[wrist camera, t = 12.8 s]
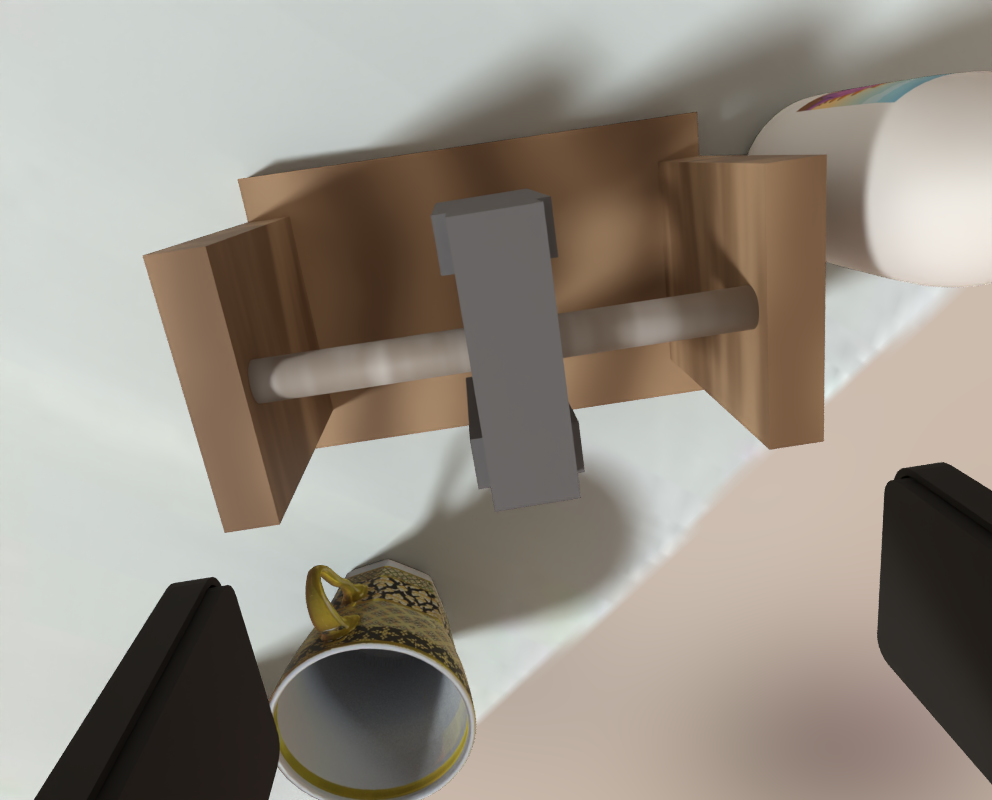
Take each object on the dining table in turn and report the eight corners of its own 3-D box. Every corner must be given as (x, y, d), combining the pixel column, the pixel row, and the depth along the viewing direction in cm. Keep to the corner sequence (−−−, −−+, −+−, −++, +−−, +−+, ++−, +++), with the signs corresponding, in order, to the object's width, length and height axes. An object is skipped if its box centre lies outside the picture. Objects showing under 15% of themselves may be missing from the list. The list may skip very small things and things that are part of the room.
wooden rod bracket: (309, 439, 40) (238, 580, 27) (246, 178, 35) (123, 190, 22) (700, 380, 40) (823, 490, 27) (687, 113, 36) (827, 87, 22)
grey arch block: (435, 203, 31) (428, 220, 22) (526, 188, 31) (559, 198, 22) (472, 417, 34) (480, 514, 25) (555, 403, 34) (594, 495, 25)
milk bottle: (820, 279, 39) (1175, 395, 20) (707, 203, 37) (975, 249, 18) (915, 149, 37) (1407, 140, 18) (800, 63, 35) (1208, -49, 16)
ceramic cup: (492, 646, 45) (503, 777, 35) (342, 694, 45) (314, 835, 36) (420, 468, 41) (410, 561, 31) (256, 522, 41) (198, 630, 32)
